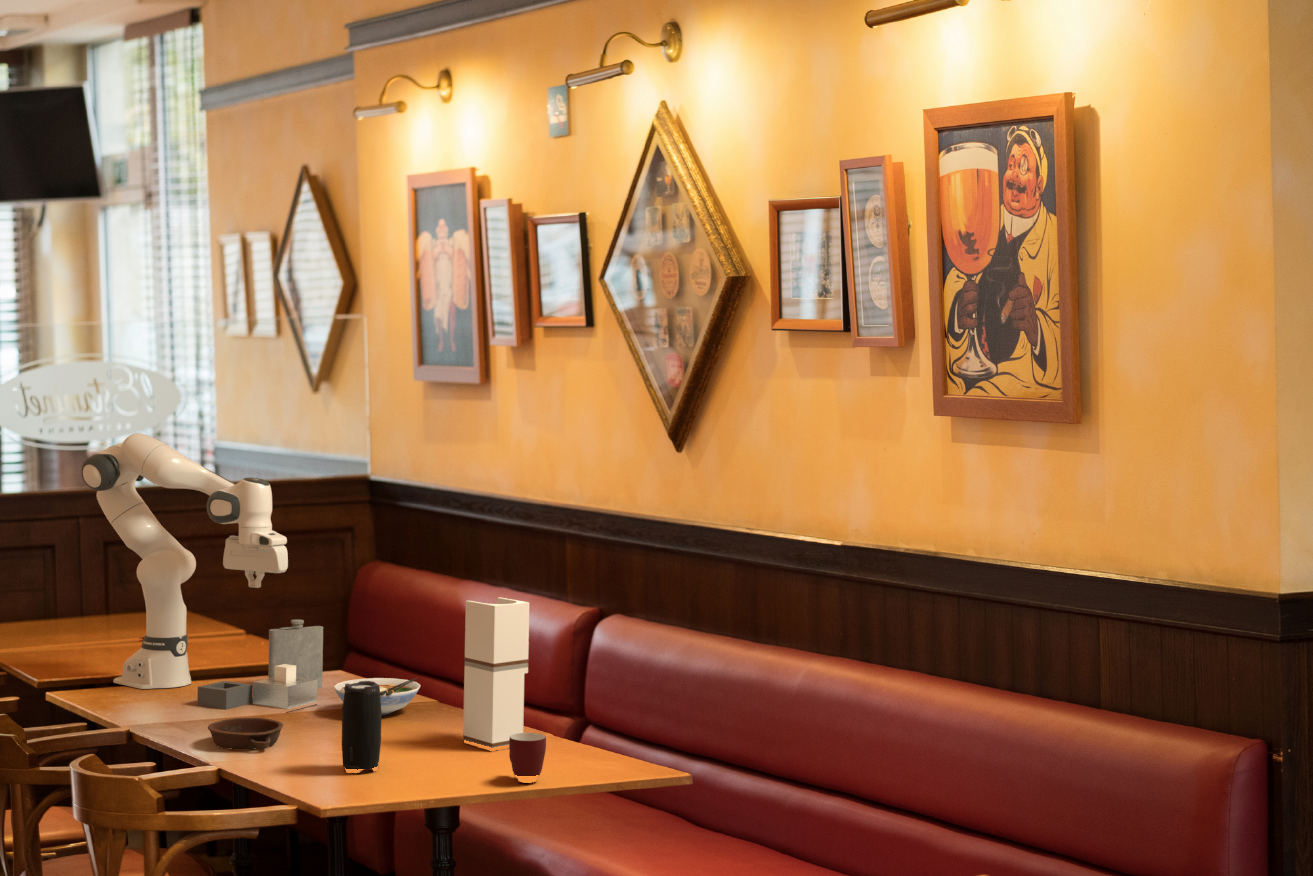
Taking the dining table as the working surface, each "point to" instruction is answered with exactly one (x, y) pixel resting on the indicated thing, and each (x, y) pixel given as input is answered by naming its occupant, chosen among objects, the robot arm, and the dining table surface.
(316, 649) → the hip flask
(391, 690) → the ramen bowl
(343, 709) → the portable speaker
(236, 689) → the grey square socket block
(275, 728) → the dish
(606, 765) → the dining table surface
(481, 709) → the banded cream pillar
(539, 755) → the mug
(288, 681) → the plug
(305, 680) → the port box
